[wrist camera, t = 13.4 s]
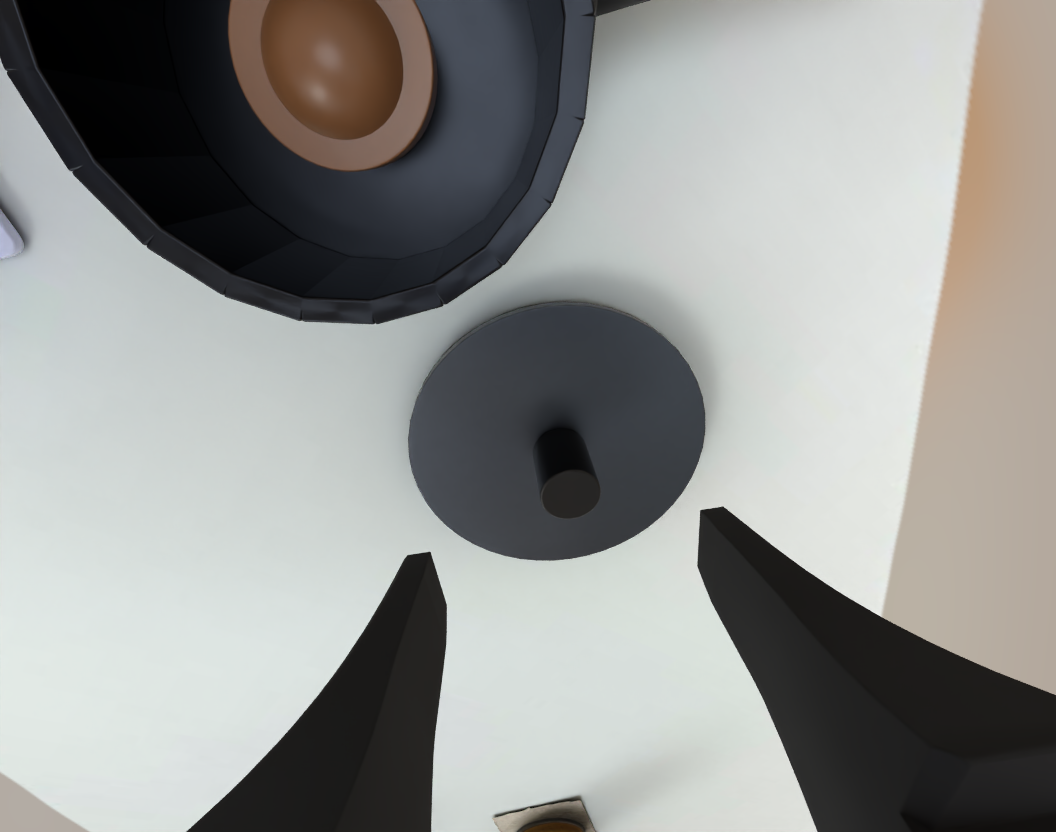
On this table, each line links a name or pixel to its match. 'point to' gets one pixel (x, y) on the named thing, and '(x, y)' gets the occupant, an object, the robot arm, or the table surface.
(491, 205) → the pan
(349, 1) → the mushroom
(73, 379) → the table surface
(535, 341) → the lid
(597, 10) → the pan handle
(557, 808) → the condiment
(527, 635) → the table surface
